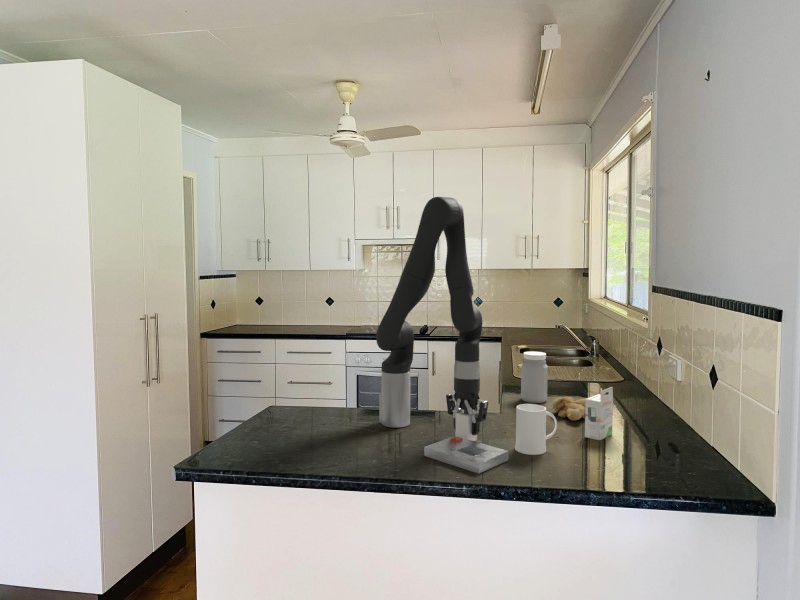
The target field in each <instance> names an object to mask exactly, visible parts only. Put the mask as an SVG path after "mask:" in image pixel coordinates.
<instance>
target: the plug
mask: <svg viewBox="0 0 800 600" xmlns="http://www.w3.org/2000/svg"><path fill="white" fill-rule="evenodd" d="M475 417H476V416H475ZM472 423H473V421H472V418H471V416H470V415H469V413H468V411H466V410H463V411H462V412H458V413H456V428H454V431H455V432H454V433H455V435H454V436H457V437H460V438H464V439H468V440H471V441H475V442H477V441H478V434H477V435H472Z"/></svg>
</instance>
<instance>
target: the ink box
mask: <svg viewBox="0 0 800 600" xmlns="http://www.w3.org/2000/svg"><path fill="white" fill-rule="evenodd" d="M613 388H614V387H613V386H610V387H608V388H605V389H603V390H600V393H598V394H595V395H593V396H590V397H586V398H587V399H585V402H586V403H585V418H584V420H585V421H584V438H588V439H591V440H595V441H596V440H597V441H602V440H604V439H606V438H608V437H609V436H612V435H613V421H614V420H613V416H614V414H613V413H614V411H613V410H614V407H613V406H614V391H613ZM607 393H608V394H607Z"/></svg>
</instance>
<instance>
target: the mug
mask: <svg viewBox="0 0 800 600" xmlns="http://www.w3.org/2000/svg"><path fill="white" fill-rule="evenodd" d="M515 411H516V412H515V415H516V416H515V445H514V450H515V451H516V452H517V453H520V454H523V455H531V456H538V455H543V454H545V453H546V452H547V448H546V447H547V446H546V445H547V443H546V441H547V440H549V439H550V438H552V437H553V436H554V435H555V433H556V432H557V430H558V429H557V428H558V421H557V418H556V416H554V414H553V413H552V412H550V411H547V407H546V406H543V405H541V404H537V403H523V404H522V403H520V404H518V405H516V408H515ZM547 416H549V417H551V418H552V419H553V420H554V429H553V431H552V432H551V433H549V434H547V433H546V432H547V431H546V430H547ZM546 434H547V435H546Z"/></svg>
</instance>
